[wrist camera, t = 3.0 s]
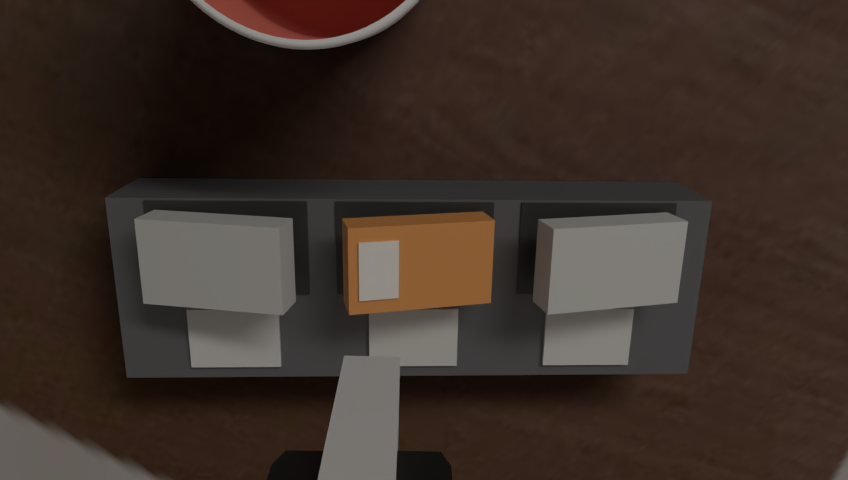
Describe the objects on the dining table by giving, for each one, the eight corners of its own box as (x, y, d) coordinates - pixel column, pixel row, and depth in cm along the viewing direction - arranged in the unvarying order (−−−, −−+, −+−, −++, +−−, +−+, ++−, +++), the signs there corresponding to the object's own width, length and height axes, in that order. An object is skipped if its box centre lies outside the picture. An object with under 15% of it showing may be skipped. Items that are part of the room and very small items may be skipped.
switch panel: (155, 339, 35) (125, 379, 31) (138, 178, 32) (102, 198, 28) (655, 337, 36) (689, 375, 32) (675, 181, 34) (714, 202, 30)
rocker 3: (532, 300, 29) (547, 314, 28) (538, 219, 28) (553, 229, 27) (657, 290, 31) (677, 302, 29) (667, 212, 30) (688, 221, 28)
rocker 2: (343, 301, 29) (349, 316, 27) (342, 218, 28) (348, 229, 26) (479, 290, 30) (491, 303, 29) (482, 211, 29) (495, 221, 28)
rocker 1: (162, 290, 29) (143, 303, 28) (154, 209, 28) (133, 218, 27) (296, 301, 29) (282, 315, 27) (292, 218, 28) (279, 228, 26)
